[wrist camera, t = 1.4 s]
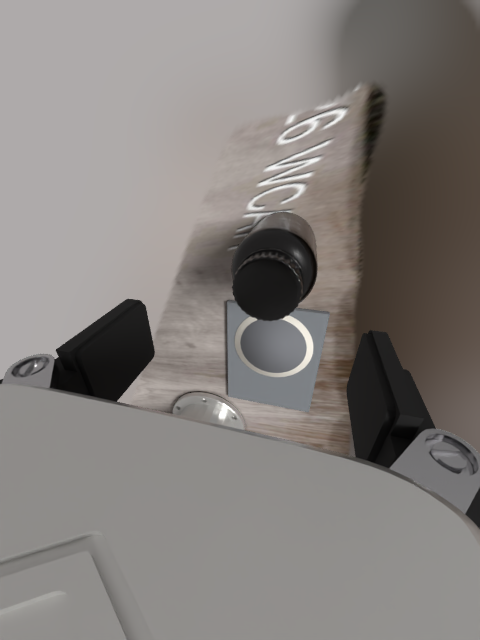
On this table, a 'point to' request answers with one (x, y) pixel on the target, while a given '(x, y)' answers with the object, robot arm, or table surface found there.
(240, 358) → the mat
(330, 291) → the table surface
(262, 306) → the supplement bottle
